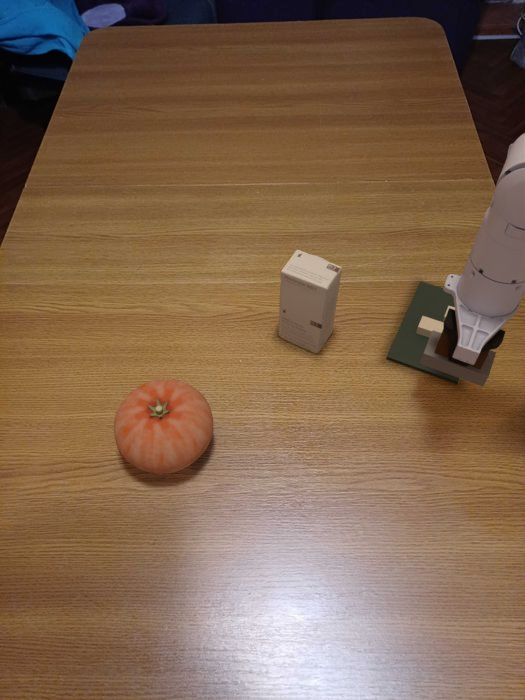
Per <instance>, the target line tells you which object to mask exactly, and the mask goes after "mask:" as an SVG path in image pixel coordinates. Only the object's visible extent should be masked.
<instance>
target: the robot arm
mask: <svg viewBox="0 0 525 700" xmlns="http://www.w3.org/2000/svg"><path fill="white" fill-rule="evenodd" d="M442 288H443V290H444V291H445V292H446V293H449V294H451V295H452V296H453V297H454V305H455V310H453V309H451V308H449V310H448V313H447V315H446V318H445V320H444V331H445V333H446V334H447V337H448V341H449V344H448V360H449V361H451V362H454V363H456V364H459V365H462V366H465V367H467V366H468V365H469V364H472V365H474V364H475V362H476V360H477V358H478V356H479V355H481V354H482V353H484V352H485V351H488V350H491V351H493V350H496V349H498V348H499V347H500V346H501V345H502V343H503V341H504V338H505V335H506V330H504V329H502V328H503V327H504V326H505V325H506V324H507V323H508V322H509V321H510V320H511V319H512V318H513V317H514V316H515V315H516V314H517V312H518V310H519V308H520V306H521V302H522V298H523V296H524V294H525V132H524V133H522V134H521V135H520V136H518V137H517V138H516V139H515V140H514V142H513V143H511V144H510V145H509V146H508V150H507V155H506V159H505V161H504V164H503V167H502V169H501V172H500V173H499V176H498V179H497V182H496V184H495V189H494V193H493V196H492V199H491V201H490V205H489V207H487V209H486V210H485V213H484V216H483V218H482V220H481V223H480V226H479V229H478V231H477V234H476V236H475V238H474V241H473V243H472V246H471V249H470V252H469V254H468V257H467V259H466V262H465V265H464V267H463V270H462V272H461V274H460V275H458V274H454V273H450V274H448V275H447V277H446V279H445V281H444V284H443V287H442Z"/></svg>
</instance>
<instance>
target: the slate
mask: <svg viewBox="0 0 525 700" xmlns="http://www.w3.org/2000/svg"><path fill="white" fill-rule="evenodd" d="M448 306H452V307H455V305H454V297H453V296H452V295H451V294H449V293H446V292H445V291H444V290H443V287H441V286H438V285H434V284H431V283H427V282H425V281H420V280H419V283H418V285H417V288H416V290H415V292H414V294H413V296H412V299H411V301H410V304H409V305H408V307H407V310H406V312H405V315H404V317H403V319H402V321H401V323H400V326H399V328H398V330H397V332H396V335H395V336H394V339H393V341H392V343H391V345H390V347H389V350H388V352H387V354H386V357H385V360H387V361H390V362H392V363H395V364H397V365H398V364H399V365H401V366H404V367H407V368H409V369H413V370H414V371H418V372H421V373H424V374H426V375H429V376H433V377H434V378H437V379H441V380H443V381H446V382H449V383H452V384H455V385H458V384H459V382H460V378H458V377H455V376H452V375H449V374H447V373H444V372H441V371H438V370H436V369H433V368H430V367H428V366H425V365H422V364H420V362H421V359H422V356H423V353H424V351H425V348H426V346H427V343H428V341H429V337H426V336H423V335H420V334H417V333H416V332H417V328H418V325H419V323H420V321H421V318H422V316H425V317H428V318H431V319H434V320H437V321H440V322H443V319H444V316H445V313H446V311H447V308H448Z"/></svg>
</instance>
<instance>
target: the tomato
mask: <svg viewBox="0 0 525 700" xmlns="http://www.w3.org/2000/svg"><path fill="white" fill-rule="evenodd" d="M213 433H214V415H213V413H212V409H211V406H210V404H209V402H208V400H207V398H206V397H205V395H204V394H203V393H202V392H200V391H199V390H198V389H197V388H195V386H193V385H191V384H189V383H187V382H184V381H181V380H178V379H174V378H165V379H164V378H160V379H155V380H151V381H147V382H144V383H142V384H141V385H139V386H137V387H135V389H133V390H132V391H131V392H129V393H128V394H127V395H126V397H125V398H124V399H123V400H122V402H121V403H120V405H119V407H118V408H117V411H116V413H115V416H114V421H113V434H114V440H115V443H116V444H115V445H116V447H117V449H118V451H119V453H120V454H121V456H122V457H123V458H124V459H125V460H127V462H128V463H130V464H131V465H132V466H134V467H135V468H137V469H138V470H141V471H143V472H145V473H151V474H171V473H177V472H180V471H182V470H184V469H186V468H188V467H190V466H191V465H193V463H195V462H196V461H197V460H198V459H199V458H200V457H201V456H202V455H203V454H204V453H205V451H206V449H207V448H208V447H209V445H210V442H211V440H212V437H213Z"/></svg>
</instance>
